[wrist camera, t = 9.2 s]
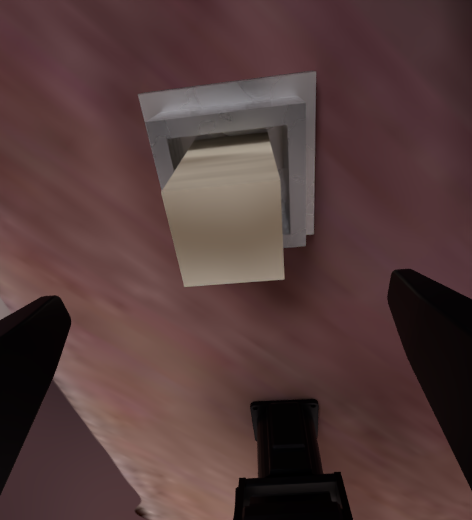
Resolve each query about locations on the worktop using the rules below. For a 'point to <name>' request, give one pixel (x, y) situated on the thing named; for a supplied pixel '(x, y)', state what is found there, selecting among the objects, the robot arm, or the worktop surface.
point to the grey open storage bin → (244, 133)
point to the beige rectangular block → (227, 211)
